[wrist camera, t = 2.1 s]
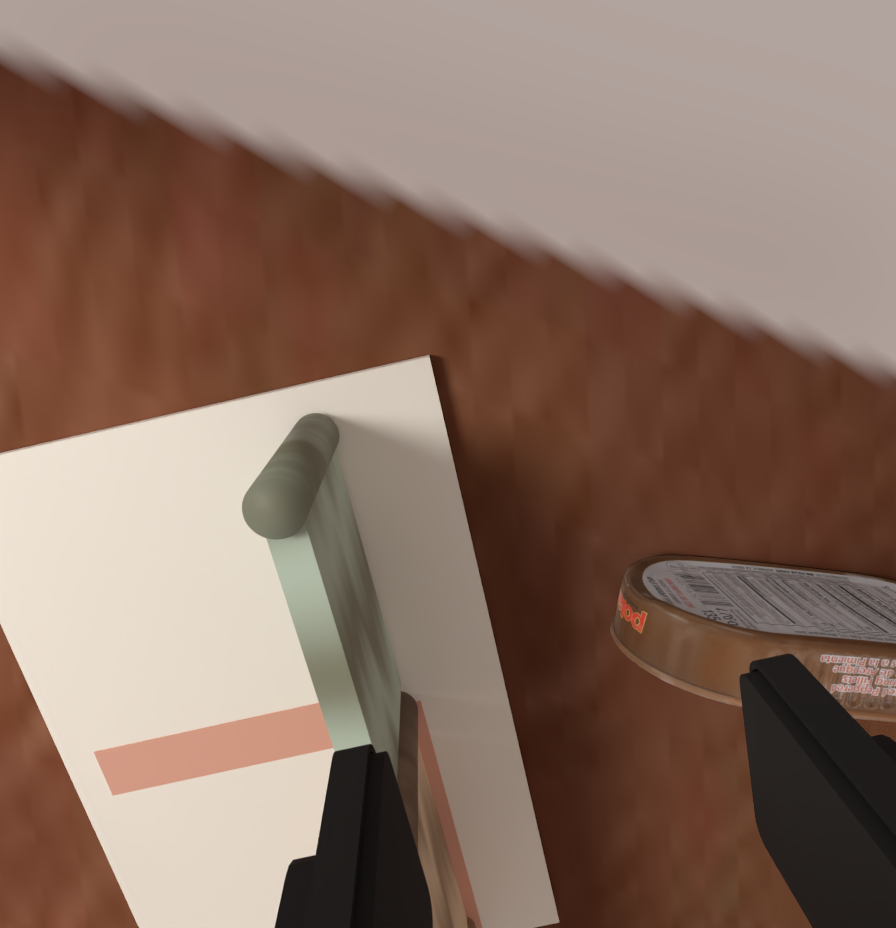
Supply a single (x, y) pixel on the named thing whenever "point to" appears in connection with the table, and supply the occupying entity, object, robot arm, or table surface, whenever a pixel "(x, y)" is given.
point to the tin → (760, 627)
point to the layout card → (254, 648)
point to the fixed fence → (427, 824)
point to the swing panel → (328, 586)
